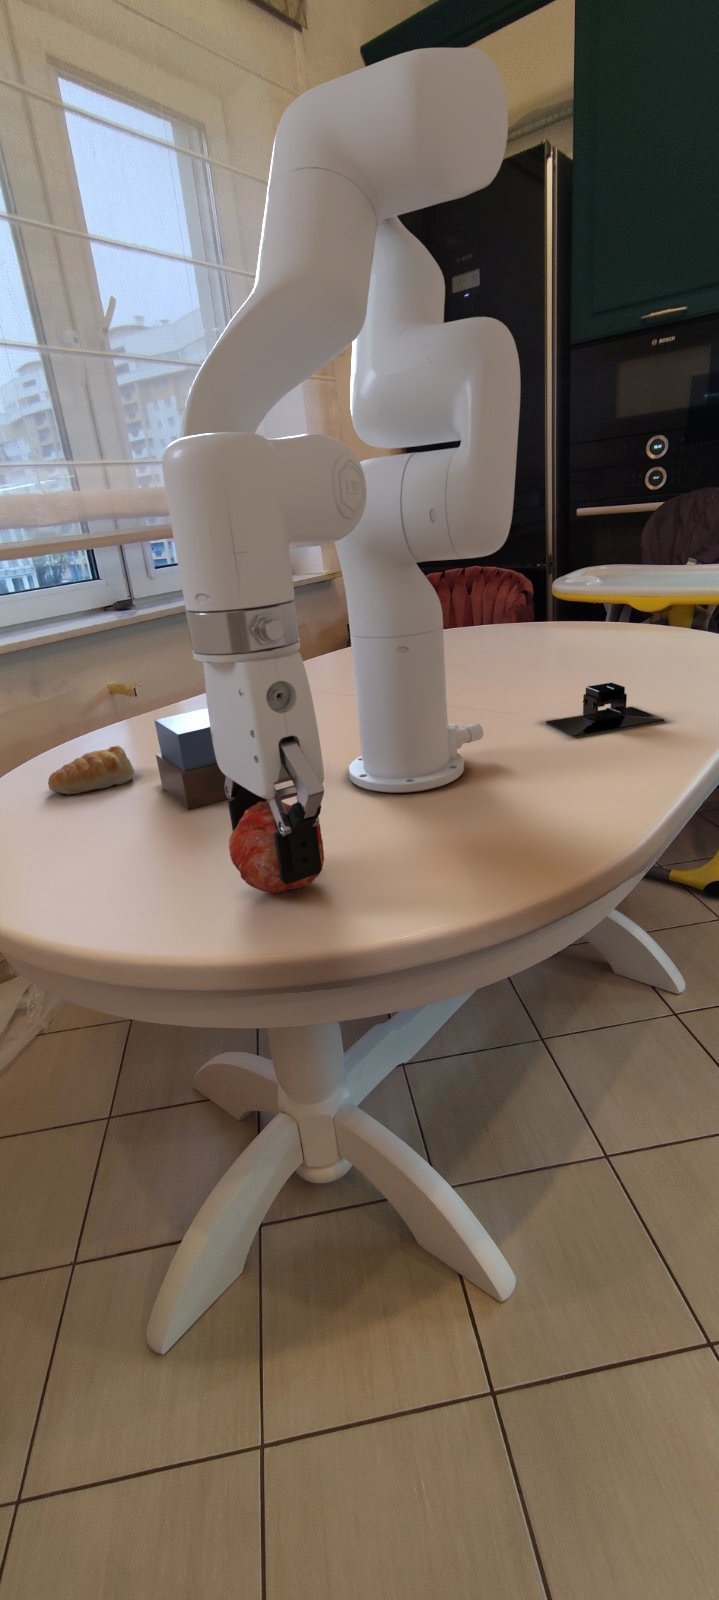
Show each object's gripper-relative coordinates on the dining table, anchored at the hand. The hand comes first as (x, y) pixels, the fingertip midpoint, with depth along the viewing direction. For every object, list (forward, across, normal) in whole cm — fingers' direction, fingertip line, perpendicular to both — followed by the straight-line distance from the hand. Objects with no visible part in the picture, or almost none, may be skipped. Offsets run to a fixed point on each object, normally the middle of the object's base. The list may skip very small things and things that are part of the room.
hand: (276, 857), depth 57 cm
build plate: (+2, +11, -50) cm, 52 cm away
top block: (-2, +26, -4) cm, 27 cm away
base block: (+2, +26, -4) cm, 27 cm away
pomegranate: (+3, 0, 0) cm, 3 cm away
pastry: (+3, +38, +5) cm, 39 cm away
